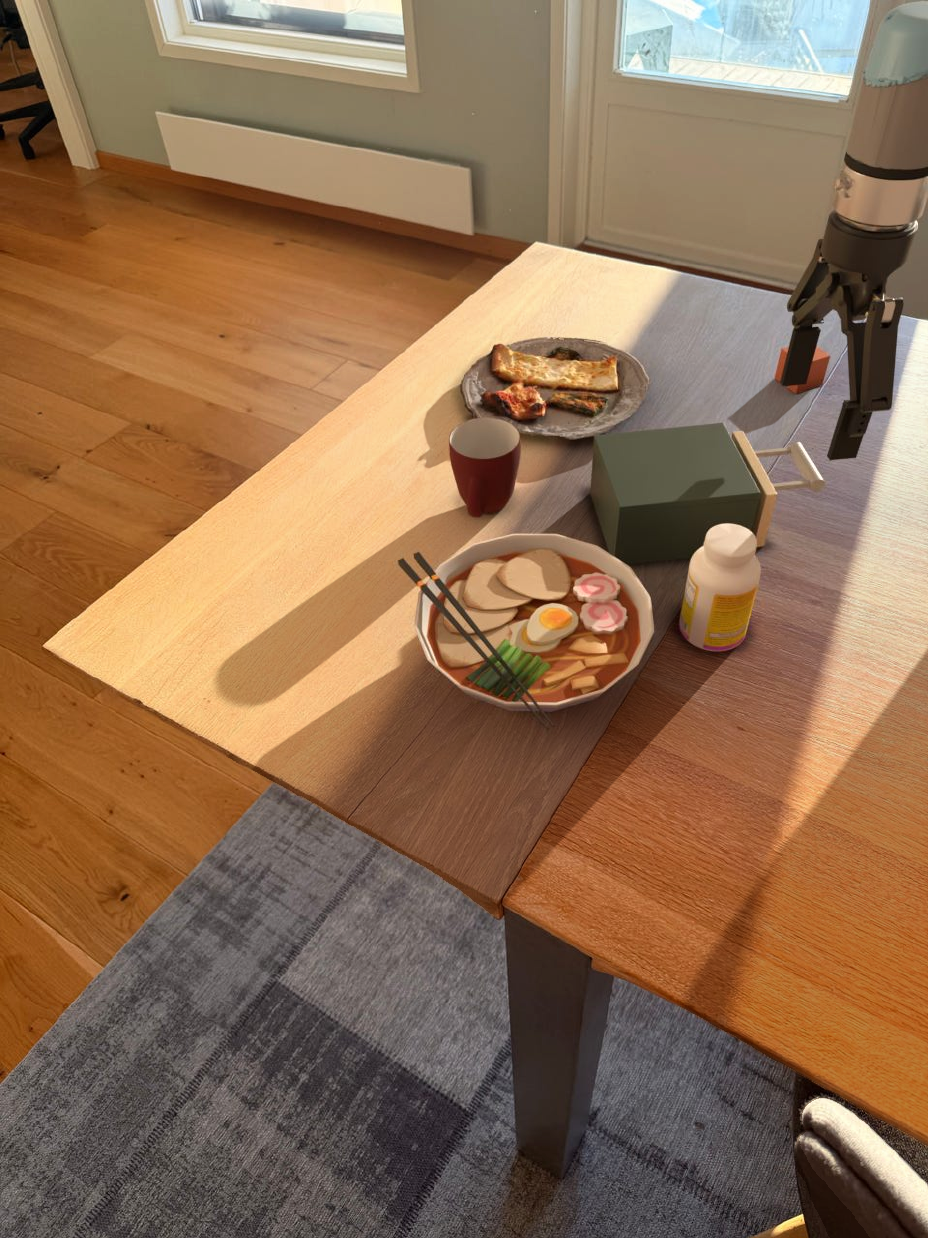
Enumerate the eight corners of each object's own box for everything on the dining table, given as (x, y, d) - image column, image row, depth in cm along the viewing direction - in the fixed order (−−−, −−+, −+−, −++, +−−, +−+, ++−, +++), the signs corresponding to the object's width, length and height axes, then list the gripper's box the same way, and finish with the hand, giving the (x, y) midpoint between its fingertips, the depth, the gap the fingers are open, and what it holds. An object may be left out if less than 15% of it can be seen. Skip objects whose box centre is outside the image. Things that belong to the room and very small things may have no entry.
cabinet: (710, 487, 109) (723, 422, 102) (744, 558, 100) (760, 492, 94) (589, 499, 108) (594, 435, 102) (612, 572, 100) (619, 507, 93)
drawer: (783, 477, 108) (796, 424, 103) (819, 540, 100) (836, 488, 95) (619, 493, 108) (624, 442, 102) (642, 559, 100) (649, 507, 94)
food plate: (438, 431, 120) (437, 408, 117) (490, 342, 135) (490, 320, 132) (626, 460, 113) (629, 436, 111) (659, 364, 128) (661, 341, 126)
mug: (517, 544, 104) (516, 474, 96) (447, 542, 104) (441, 472, 97) (522, 486, 111) (522, 417, 103) (457, 485, 112) (452, 416, 104)
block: (822, 385, 123) (830, 355, 120) (795, 394, 122) (803, 364, 119) (800, 369, 126) (808, 340, 123) (774, 378, 125) (781, 348, 121)
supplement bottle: (757, 632, 93) (783, 538, 83) (719, 668, 90) (742, 574, 80) (702, 601, 96) (722, 506, 87) (664, 634, 93) (680, 540, 84)
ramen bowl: (702, 697, 87) (715, 640, 81) (499, 804, 80) (498, 750, 74) (557, 550, 103) (560, 493, 97) (376, 629, 95) (367, 572, 90)
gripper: (783, 164, 88) (743, 359, 104) (894, 283, 71) (826, 495, 87) (858, 158, 89) (807, 353, 104) (987, 275, 72) (902, 488, 87)
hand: (815, 418), depth 95 cm, fingers open, 13 cm apart
